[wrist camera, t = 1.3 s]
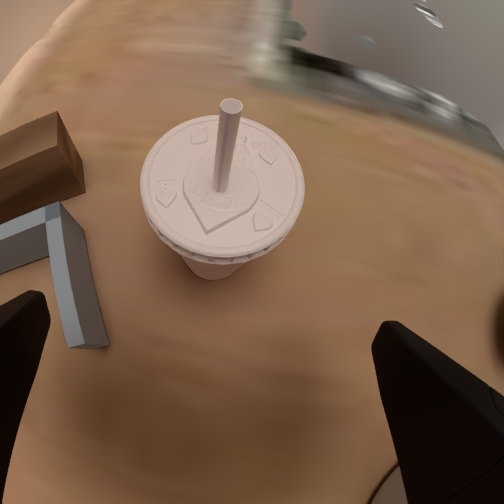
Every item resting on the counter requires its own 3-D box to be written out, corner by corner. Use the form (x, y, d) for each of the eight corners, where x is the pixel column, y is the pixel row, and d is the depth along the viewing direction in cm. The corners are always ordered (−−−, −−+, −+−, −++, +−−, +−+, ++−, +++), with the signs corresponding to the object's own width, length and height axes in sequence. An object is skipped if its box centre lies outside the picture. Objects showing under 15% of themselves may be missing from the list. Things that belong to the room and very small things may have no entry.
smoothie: (152, 286, 19) (69, 163, 6) (181, 198, 21) (170, 19, 8) (250, 312, 20) (345, 234, 7) (270, 221, 22) (354, 63, 9)
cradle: (109, 345, 18) (84, 343, 13) (-5, 374, 15) (-43, 375, 11) (83, 229, 19) (59, 201, 15) (-22, 269, 17) (-56, 252, 13)
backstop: (85, 192, 20) (56, 145, 15) (-25, 237, 18) (-68, 207, 12) (82, 160, 21) (57, 110, 16) (-25, 205, 19) (-63, 172, 13)
